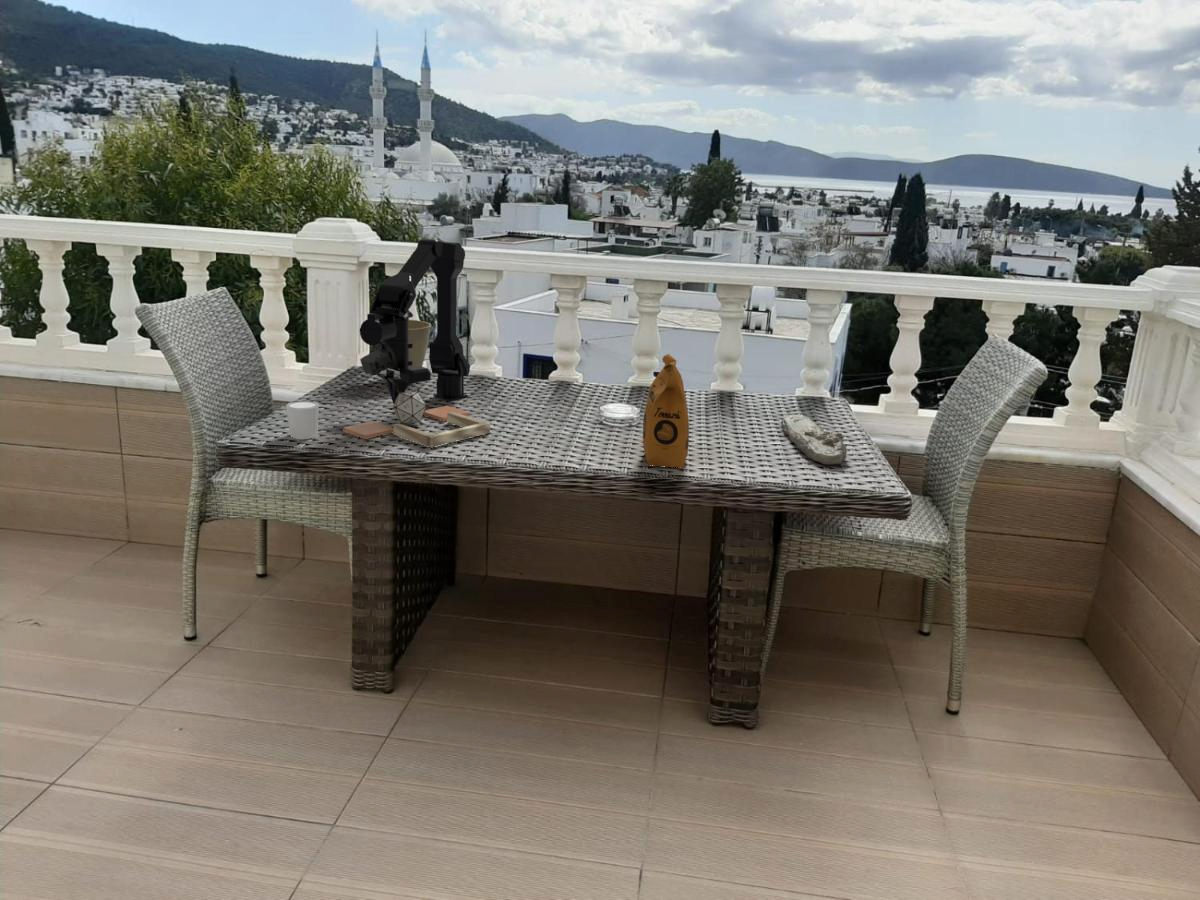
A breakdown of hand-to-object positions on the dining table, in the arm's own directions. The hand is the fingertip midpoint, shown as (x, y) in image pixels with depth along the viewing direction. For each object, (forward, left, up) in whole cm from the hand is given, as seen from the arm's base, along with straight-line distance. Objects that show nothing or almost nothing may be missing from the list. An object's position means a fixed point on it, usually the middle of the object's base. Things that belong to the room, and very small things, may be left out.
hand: (396, 404), depth 210 cm
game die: (0, +5, -4) cm, 6 cm away
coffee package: (-23, +61, -4) cm, 66 cm away
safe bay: (0, +16, -4) cm, 17 cm away
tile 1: (+11, +4, -4) cm, 12 cm away
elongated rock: (-60, +77, -4) cm, 97 cm away
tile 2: (-11, +4, -4) cm, 13 cm away
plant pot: (-26, -31, -4) cm, 41 cm away
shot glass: (+23, -3, -4) cm, 23 cm away
